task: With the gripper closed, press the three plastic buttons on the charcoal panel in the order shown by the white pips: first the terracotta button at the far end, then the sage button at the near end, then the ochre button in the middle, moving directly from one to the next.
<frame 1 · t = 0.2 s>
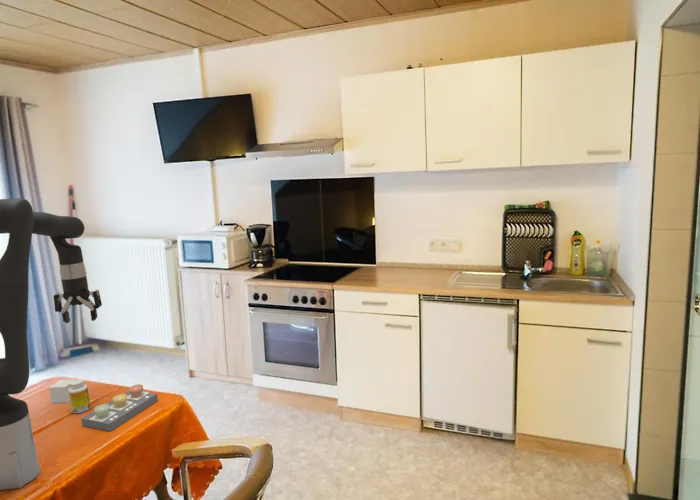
hand: (81, 321, 163), 29 cm above the table, fingers open, 8 cm apart
ochre button: (119, 399, 155), point 5 cm above the table, slide at 0.0 cm
off-white cube: (65, 399, 168), on the table
supplement bottle: (81, 410, 159), on the table
button panel: (121, 412, 156), on the table
terracotta button: (136, 389, 161), point 5 cm above the table, slide at 0.0 cm
sage button: (101, 409, 149), point 5 cm above the table, slide at 0.0 cm
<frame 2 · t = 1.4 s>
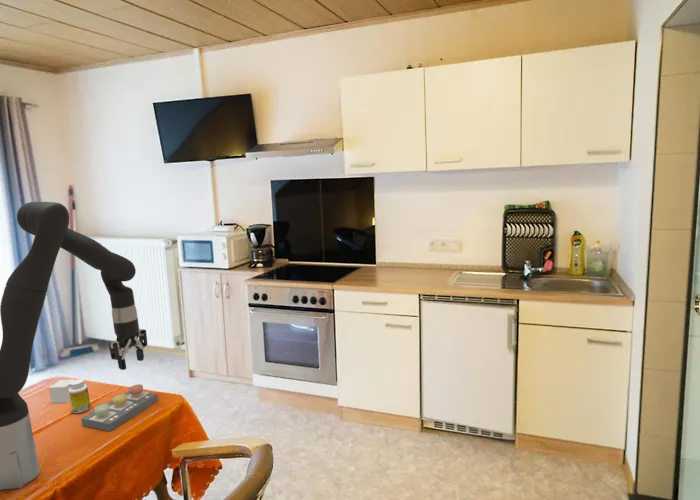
hand: (132, 364, 160), 14 cm above the table, fingers open, 7 cm apart
nothing on the table moved.
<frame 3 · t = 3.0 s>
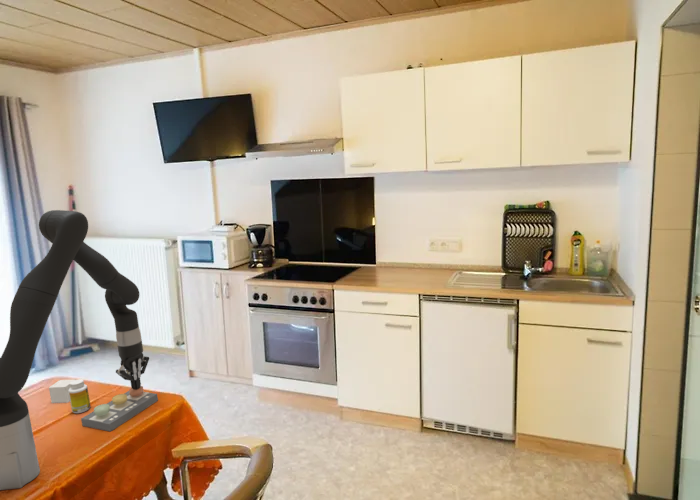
hand: (136, 388, 161), 5 cm above the table, fingers closed
terracotta button: (136, 390, 161), point 4 cm above the table, slide at 0.5 cm, touching gripper
everything else where it was.
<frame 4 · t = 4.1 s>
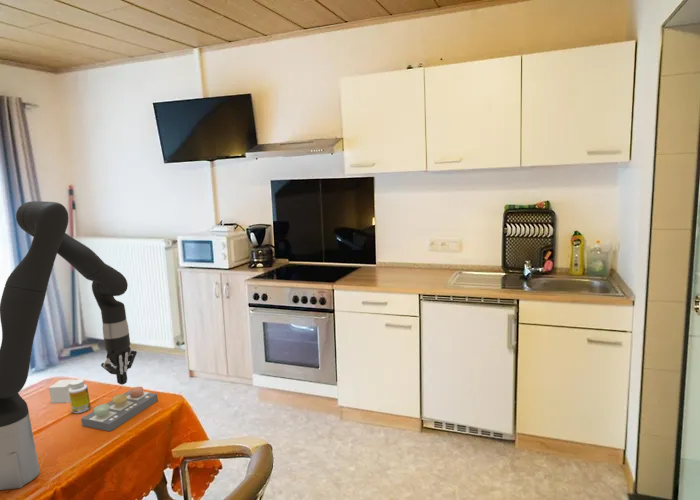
hand: (122, 383, 156), 9 cm above the table, fingers closed
terracotta button: (136, 391, 162), point 4 cm above the table, slide at 0.8 cm
everything else where it was.
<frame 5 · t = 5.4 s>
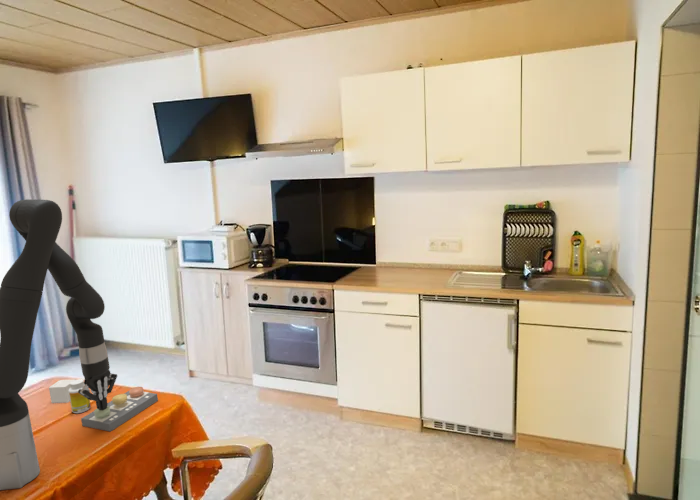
hand: (102, 409, 149), 5 cm above the table, fingers closed
sage button: (102, 411, 149), point 4 cm above the table, slide at 0.7 cm, touching gripper
everything else where it was.
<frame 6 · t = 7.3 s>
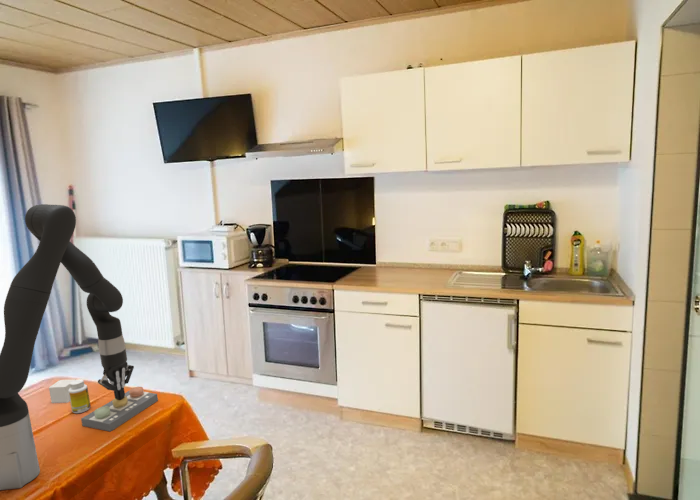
hand: (120, 398, 155), 5 cm above the table, fingers closed
ochre button: (120, 401, 155), point 4 cm above the table, slide at 0.8 cm, touching gripper
sage button: (102, 412, 149), point 4 cm above the table, slide at 0.8 cm
everything else where it was.
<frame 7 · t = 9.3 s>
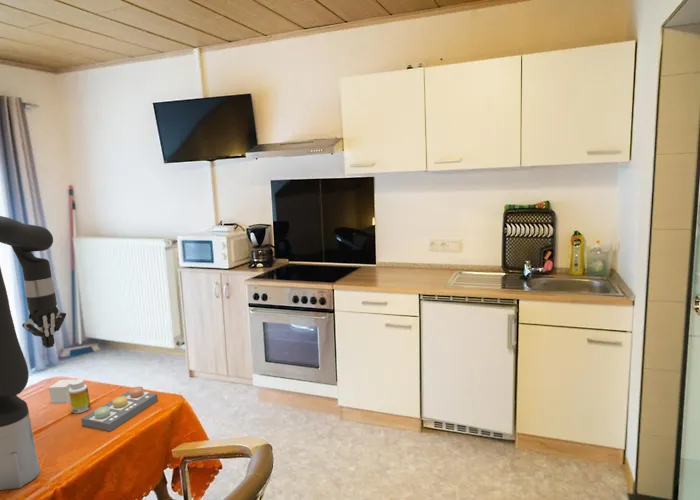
hand: (49, 346, 146), 26 cm above the table, fingers closed
ochre button: (120, 401, 155), point 4 cm above the table, slide at 0.8 cm
everything else where it was.
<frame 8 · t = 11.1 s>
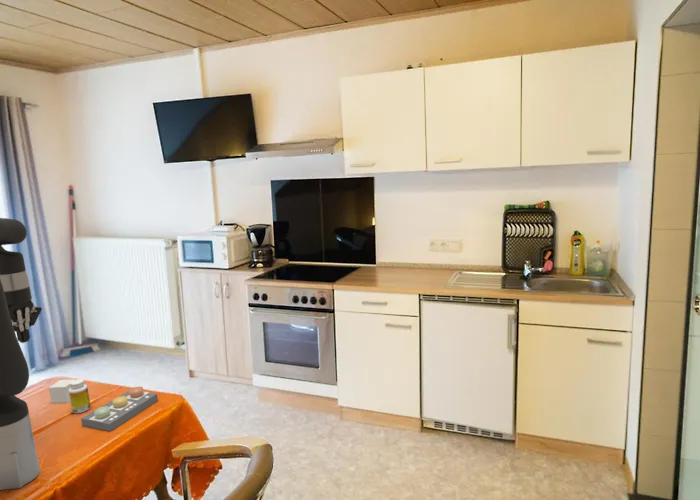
hand: (24, 341, 144), 29 cm above the table, fingers closed
nothing on the table moved.
at the end: terracotta button slide at 0.8 cm; sage button slide at 0.8 cm; ochre button slide at 0.8 cm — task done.
